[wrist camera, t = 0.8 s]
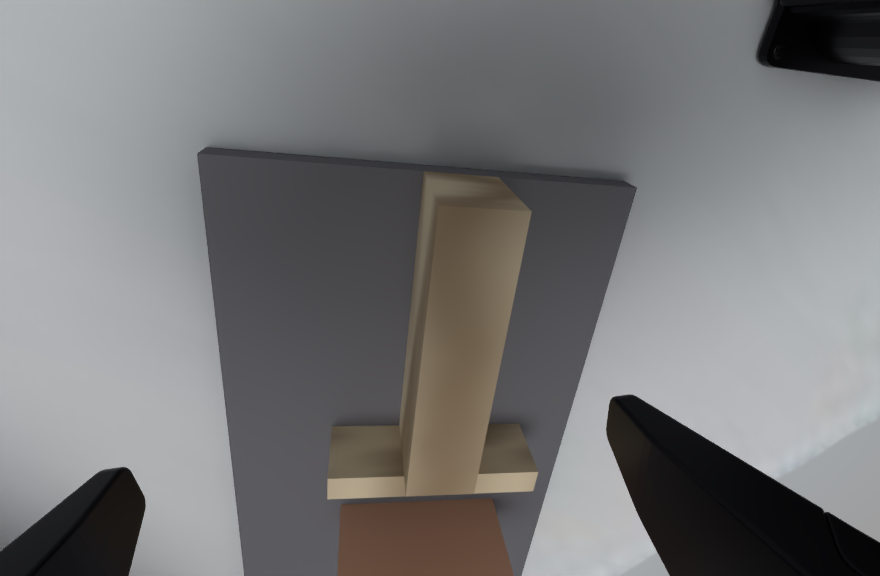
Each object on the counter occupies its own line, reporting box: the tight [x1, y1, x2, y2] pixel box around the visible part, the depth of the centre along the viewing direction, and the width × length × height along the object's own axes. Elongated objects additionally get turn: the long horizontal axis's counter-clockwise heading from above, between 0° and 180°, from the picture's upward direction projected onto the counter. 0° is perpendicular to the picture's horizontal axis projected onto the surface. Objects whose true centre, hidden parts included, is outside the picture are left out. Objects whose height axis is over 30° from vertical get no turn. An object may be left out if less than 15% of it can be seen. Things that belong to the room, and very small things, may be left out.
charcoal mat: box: [197, 148, 637, 576], centre depth 24 cm, size 16×27×1 cm, turn 174°
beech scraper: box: [327, 171, 538, 499], centre depth 19 cm, size 9×13×4 cm
